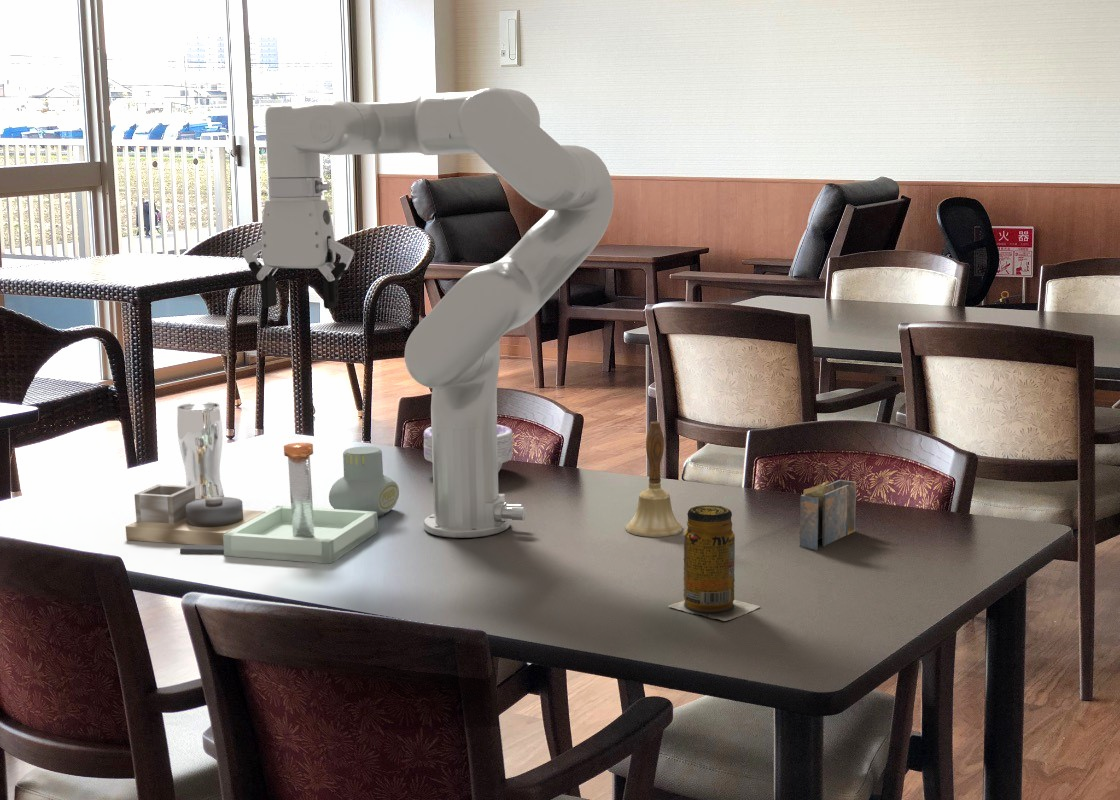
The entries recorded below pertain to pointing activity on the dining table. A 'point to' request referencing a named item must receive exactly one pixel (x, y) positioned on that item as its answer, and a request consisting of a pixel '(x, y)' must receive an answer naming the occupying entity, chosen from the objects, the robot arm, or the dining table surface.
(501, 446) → the paper bowls
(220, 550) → the dark grey bar
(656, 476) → the hand bell
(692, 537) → the condiment
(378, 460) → the air freshener
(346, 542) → the tray
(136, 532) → the wooden base with holder
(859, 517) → the dining table surface
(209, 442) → the beer glass
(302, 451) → the capped tube
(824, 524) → the grey split block
